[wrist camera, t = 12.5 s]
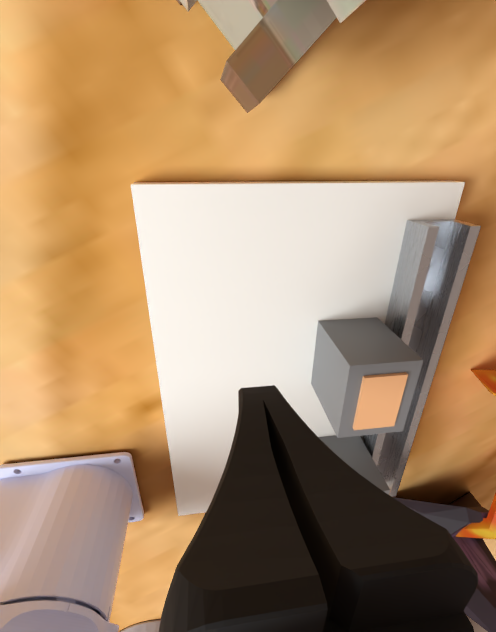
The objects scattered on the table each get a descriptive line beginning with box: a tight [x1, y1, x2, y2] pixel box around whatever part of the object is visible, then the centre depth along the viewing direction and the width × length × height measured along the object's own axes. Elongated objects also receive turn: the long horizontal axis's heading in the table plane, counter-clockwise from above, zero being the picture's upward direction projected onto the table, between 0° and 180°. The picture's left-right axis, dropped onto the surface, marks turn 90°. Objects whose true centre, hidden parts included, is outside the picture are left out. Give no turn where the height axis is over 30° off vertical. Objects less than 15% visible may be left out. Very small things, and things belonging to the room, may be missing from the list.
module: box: [311, 317, 423, 438], centre depth 20 cm, size 4×5×5 cm
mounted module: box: [319, 435, 390, 495], centre depth 25 cm, size 4×5×5 cm
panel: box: [131, 181, 465, 516], centre depth 24 cm, size 18×26×1 cm
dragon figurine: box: [393, 369, 496, 632], centre depth 27 cm, size 10×12×25 cm
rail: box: [361, 219, 481, 497], centre depth 23 cm, size 3×22×2 cm, turn 179°
